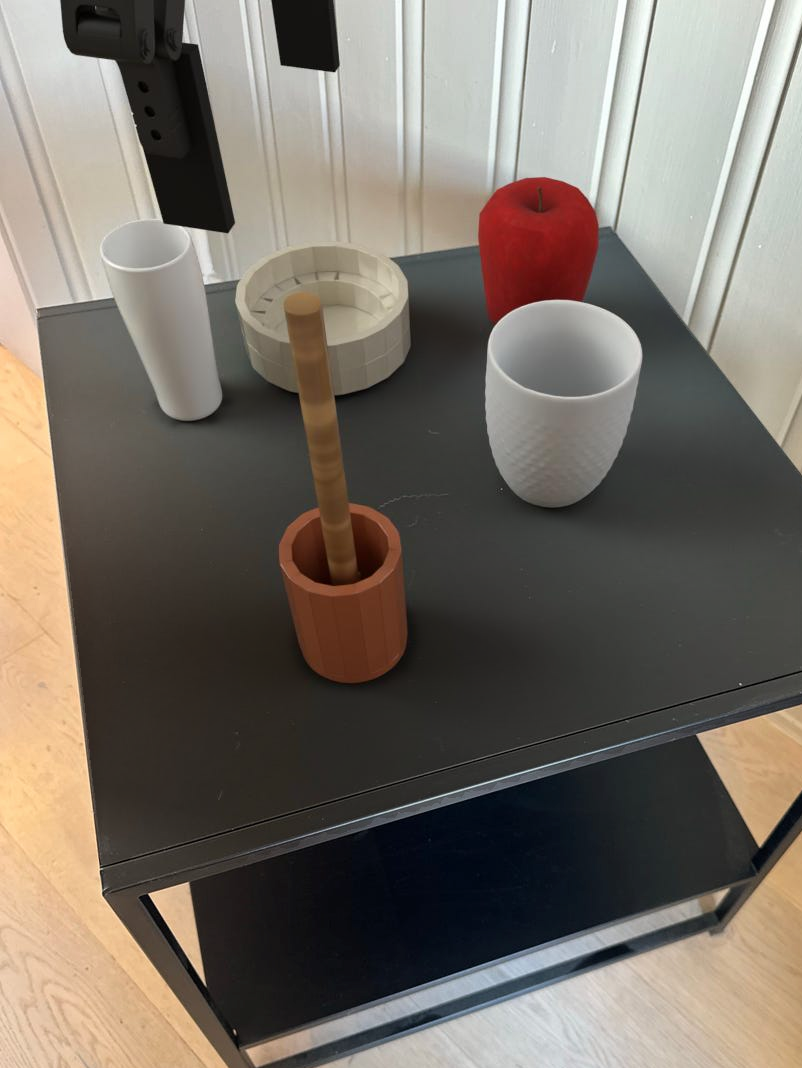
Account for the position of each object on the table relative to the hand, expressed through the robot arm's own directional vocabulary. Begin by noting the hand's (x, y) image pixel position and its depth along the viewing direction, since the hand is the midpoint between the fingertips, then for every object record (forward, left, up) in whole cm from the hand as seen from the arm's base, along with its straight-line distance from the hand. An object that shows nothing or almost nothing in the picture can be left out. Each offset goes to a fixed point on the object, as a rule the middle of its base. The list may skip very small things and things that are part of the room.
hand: (260, 138), depth 41 cm
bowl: (-10, +28, -34) cm, 45 cm away
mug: (+12, +18, -34) cm, 40 cm away
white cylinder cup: (-19, +18, -34) cm, 43 cm away
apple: (+7, +36, -34) cm, 50 cm away
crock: (+2, -2, -34) cm, 34 cm away
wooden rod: (+2, -2, -33) cm, 33 cm away
